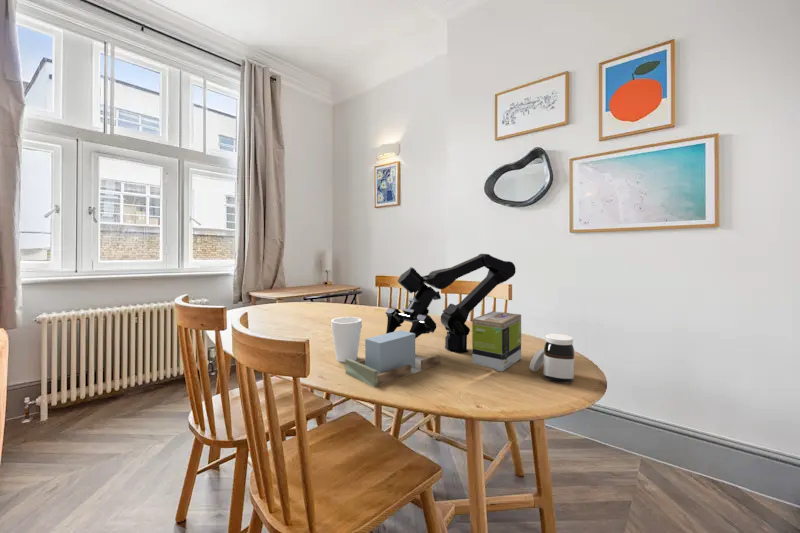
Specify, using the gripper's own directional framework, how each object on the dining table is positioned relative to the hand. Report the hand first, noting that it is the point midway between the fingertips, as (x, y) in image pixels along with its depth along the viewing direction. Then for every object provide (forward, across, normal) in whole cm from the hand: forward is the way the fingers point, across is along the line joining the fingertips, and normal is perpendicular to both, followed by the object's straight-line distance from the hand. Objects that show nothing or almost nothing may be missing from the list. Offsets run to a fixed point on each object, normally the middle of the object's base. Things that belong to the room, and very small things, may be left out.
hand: (396, 341), depth 111 cm
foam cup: (+12, +11, +3) cm, 17 cm away
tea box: (-12, -22, -21) cm, 32 cm away
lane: (+8, -5, -1) cm, 10 cm away
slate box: (+9, -6, +1) cm, 11 cm away
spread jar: (-12, -38, -22) cm, 46 cm away
